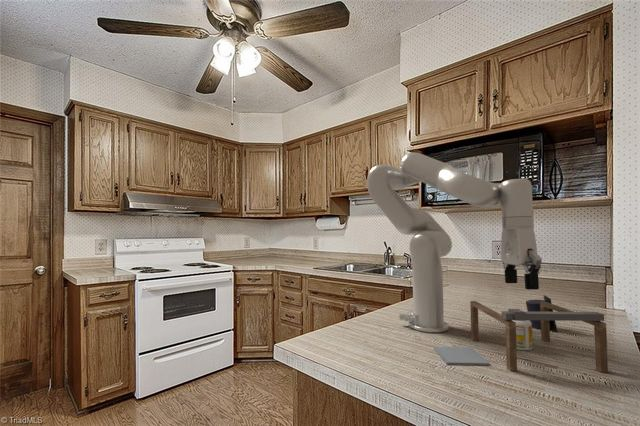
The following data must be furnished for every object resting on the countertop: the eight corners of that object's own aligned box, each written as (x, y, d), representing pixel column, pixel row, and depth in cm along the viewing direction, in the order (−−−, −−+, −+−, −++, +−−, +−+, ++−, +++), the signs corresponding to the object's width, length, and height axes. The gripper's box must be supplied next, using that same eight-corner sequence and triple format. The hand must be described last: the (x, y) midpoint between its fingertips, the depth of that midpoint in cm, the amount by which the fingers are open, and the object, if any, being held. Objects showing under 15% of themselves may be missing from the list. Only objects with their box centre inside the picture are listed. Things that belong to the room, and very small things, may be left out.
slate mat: (446, 364, 77) (446, 362, 77) (434, 348, 87) (434, 346, 87) (489, 365, 76) (489, 363, 76) (471, 349, 86) (471, 347, 86)
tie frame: (510, 371, 73) (509, 322, 74) (471, 338, 94) (470, 301, 95) (608, 372, 72) (606, 323, 73) (546, 339, 93) (545, 301, 94)
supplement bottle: (523, 343, 90) (522, 308, 91) (537, 350, 85) (536, 313, 86) (505, 343, 90) (504, 308, 91) (517, 351, 85) (516, 314, 85)
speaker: (558, 327, 104) (553, 294, 105) (557, 332, 100) (552, 298, 100) (530, 324, 109) (526, 294, 109) (528, 330, 104) (523, 298, 105)
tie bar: (507, 320, 74) (506, 311, 74) (500, 317, 77) (500, 308, 77) (605, 321, 73) (605, 312, 73) (595, 317, 76) (595, 309, 76)
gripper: (488, 224, 98) (491, 281, 97) (521, 223, 81) (525, 292, 80) (514, 224, 97) (517, 280, 96) (552, 222, 80) (557, 291, 79)
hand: (521, 286), depth 88 cm, fingers open, 9 cm apart
